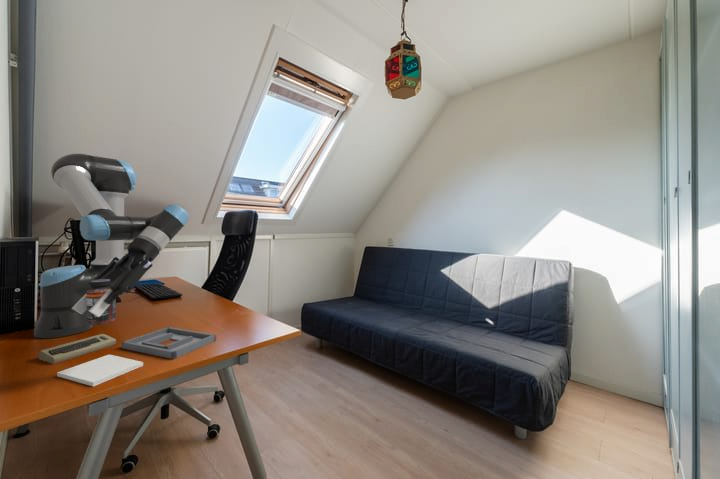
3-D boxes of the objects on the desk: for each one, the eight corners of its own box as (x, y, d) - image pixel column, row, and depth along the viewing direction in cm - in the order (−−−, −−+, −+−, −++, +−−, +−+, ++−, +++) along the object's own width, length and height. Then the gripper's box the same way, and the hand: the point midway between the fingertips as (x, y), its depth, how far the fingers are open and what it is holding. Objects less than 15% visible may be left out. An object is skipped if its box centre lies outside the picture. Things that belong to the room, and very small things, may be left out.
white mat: (57, 376, 78) (57, 372, 78) (109, 357, 89) (109, 354, 89) (93, 386, 73) (93, 382, 73) (143, 365, 84) (143, 362, 84)
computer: (53, 365, 84) (53, 354, 84) (38, 360, 87) (38, 349, 87) (116, 346, 99) (116, 336, 99) (101, 342, 102) (101, 332, 102)
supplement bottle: (112, 317, 85) (112, 277, 84) (119, 322, 81) (118, 280, 81) (84, 322, 80) (83, 280, 80) (89, 327, 76) (89, 282, 76)
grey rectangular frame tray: (121, 348, 96) (121, 342, 96) (168, 332, 111) (168, 326, 111) (173, 359, 89) (173, 352, 89) (216, 340, 104) (216, 334, 104)
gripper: (179, 254, 91) (122, 324, 77) (135, 252, 98) (74, 316, 83) (162, 237, 86) (97, 308, 71) (117, 235, 92) (48, 301, 78)
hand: (85, 312), depth 77 cm, fingers closed on supplement bottle, 6 cm apart
